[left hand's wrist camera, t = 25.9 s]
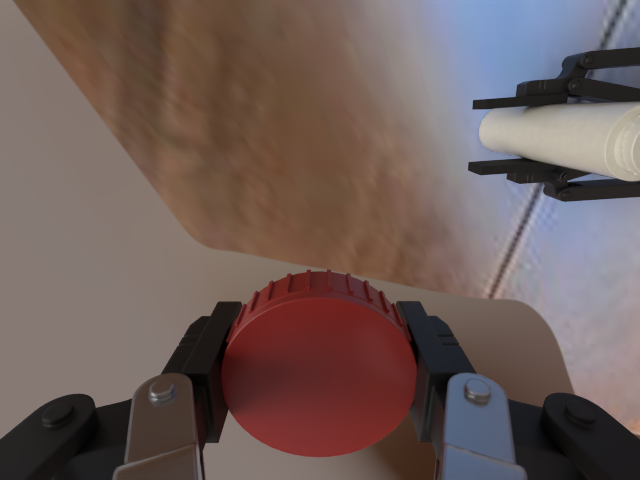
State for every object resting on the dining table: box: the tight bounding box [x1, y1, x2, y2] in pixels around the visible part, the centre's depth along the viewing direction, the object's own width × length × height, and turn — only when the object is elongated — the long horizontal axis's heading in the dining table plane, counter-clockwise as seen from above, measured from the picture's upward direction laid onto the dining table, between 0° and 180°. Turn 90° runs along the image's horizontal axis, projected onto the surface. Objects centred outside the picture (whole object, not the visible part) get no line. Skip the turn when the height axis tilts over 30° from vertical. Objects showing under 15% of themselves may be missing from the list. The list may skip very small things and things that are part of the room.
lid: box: [221, 270, 417, 457], centre depth 10 cm, size 5×5×2 cm
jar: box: [479, 102, 640, 181], centre depth 29 cm, size 5×5×18 cm
